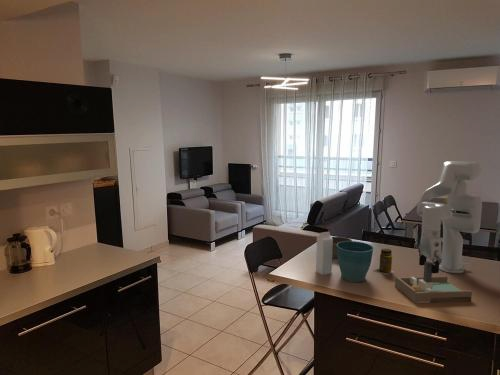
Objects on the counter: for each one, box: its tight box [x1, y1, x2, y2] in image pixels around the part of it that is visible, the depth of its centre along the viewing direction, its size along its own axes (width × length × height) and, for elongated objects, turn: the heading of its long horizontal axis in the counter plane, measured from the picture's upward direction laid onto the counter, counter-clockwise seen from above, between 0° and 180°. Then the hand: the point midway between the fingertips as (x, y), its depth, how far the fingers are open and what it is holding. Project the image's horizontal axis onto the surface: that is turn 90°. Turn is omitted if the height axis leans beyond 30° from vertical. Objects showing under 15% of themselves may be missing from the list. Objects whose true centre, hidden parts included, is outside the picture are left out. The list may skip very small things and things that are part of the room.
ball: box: [412, 285, 419, 292], centre depth 166 cm, size 4×4×4 cm
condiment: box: [373, 248, 395, 276], centre depth 194 cm, size 7×8×12 cm
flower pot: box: [337, 240, 375, 283], centre depth 184 cm, size 18×18×17 cm
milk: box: [315, 231, 333, 276], centre depth 192 cm, size 6×6×22 cm
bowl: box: [331, 236, 353, 259], centre depth 221 cm, size 17×18×10 cm
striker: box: [418, 261, 440, 291], centre depth 166 cm, size 9×5×13 cm, turn 95°
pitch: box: [394, 275, 473, 304], centre depth 167 cm, size 26×18×5 cm
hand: (428, 268), depth 166 cm, fingers open, 9 cm apart
